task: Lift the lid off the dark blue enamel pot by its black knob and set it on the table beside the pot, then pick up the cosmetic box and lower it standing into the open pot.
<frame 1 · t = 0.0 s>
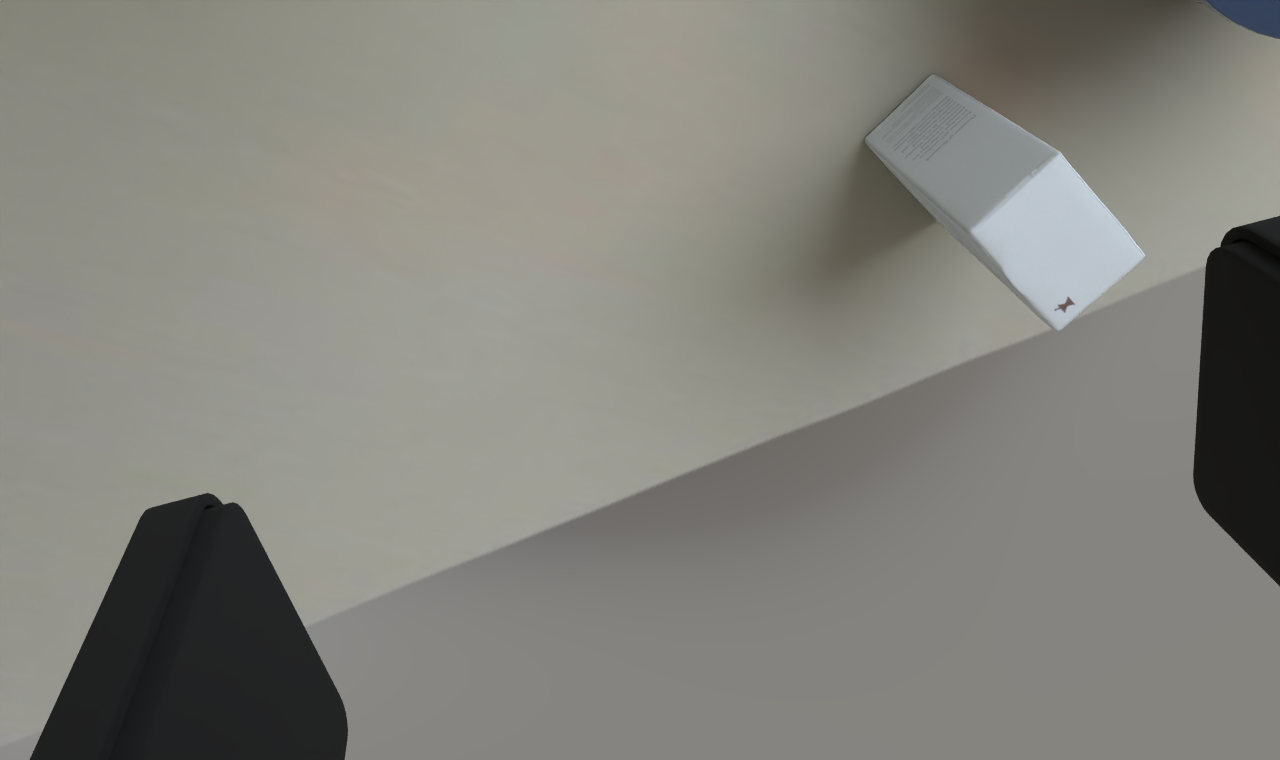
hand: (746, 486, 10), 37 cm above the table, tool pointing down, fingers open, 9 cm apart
cosmetic box: (933, 146, 48), on the table
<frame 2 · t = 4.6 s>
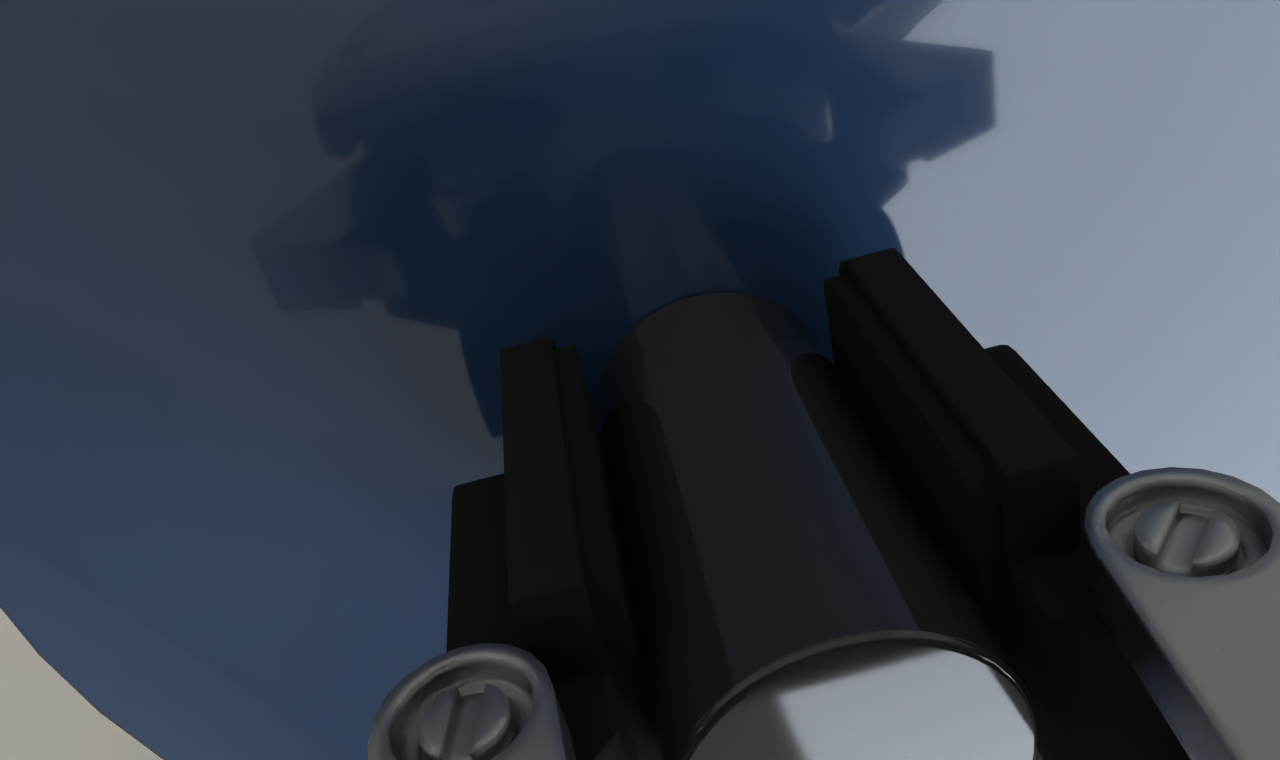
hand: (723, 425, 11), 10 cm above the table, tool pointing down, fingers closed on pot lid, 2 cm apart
pot lid: (705, 375, 12), point 9 cm above the table, touching gripper, pot
when the fingers open (2 cm above the table, at t = 11.6 s): pot lid stays where it is, point 1 cm above the table.
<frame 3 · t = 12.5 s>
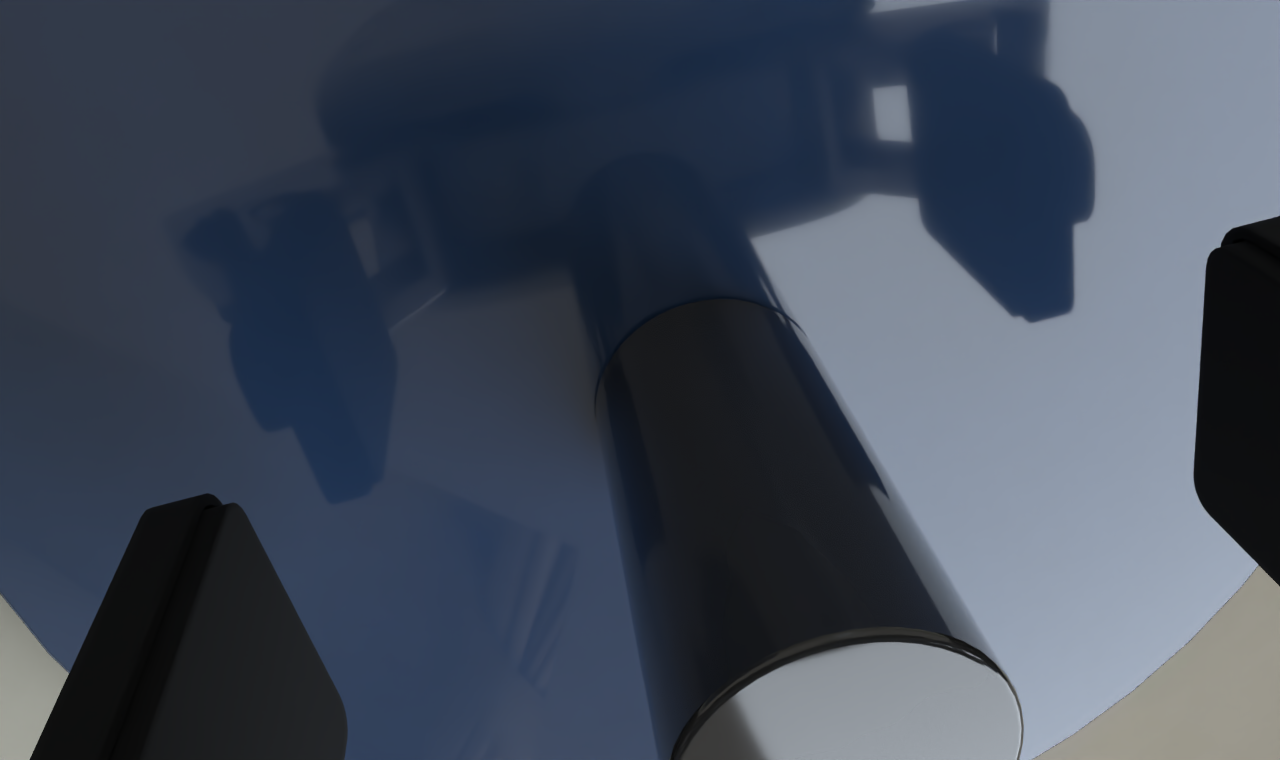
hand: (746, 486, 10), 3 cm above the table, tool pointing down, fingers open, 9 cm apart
pot lid: (701, 380, 12), point 1 cm above the table
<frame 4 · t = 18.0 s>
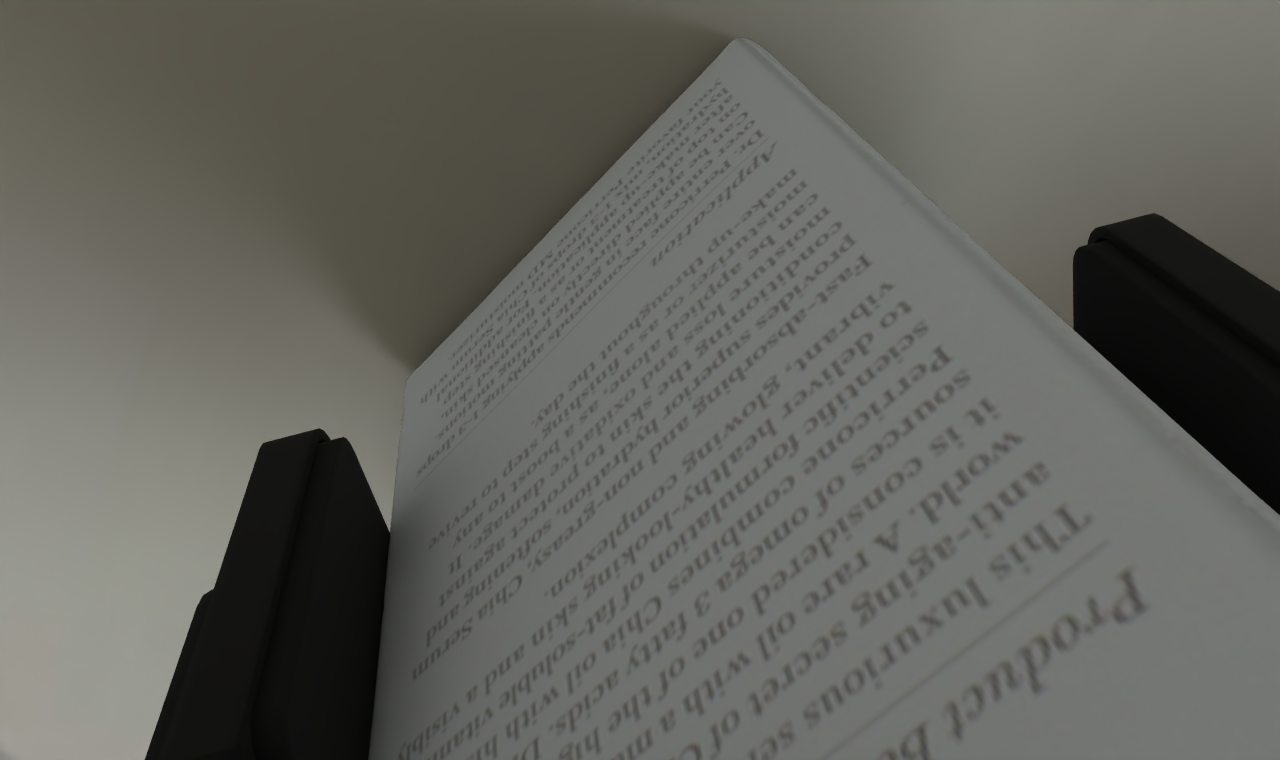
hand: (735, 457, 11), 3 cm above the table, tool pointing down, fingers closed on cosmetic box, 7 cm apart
cosmetic box: (681, 304, 14), on the table, touching gripper
when the fingers open (4 cm above the table, at t = 25.7 s): cosmetic box stays where it is, resting on pot.
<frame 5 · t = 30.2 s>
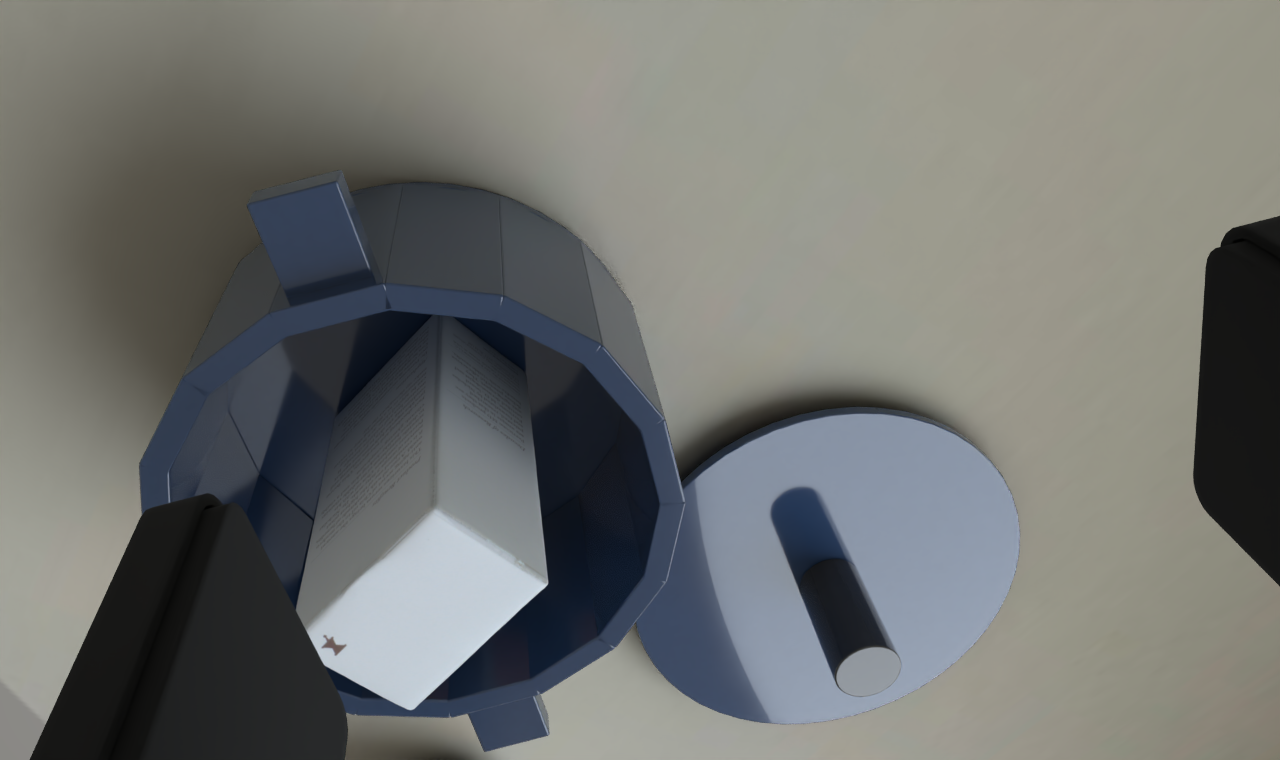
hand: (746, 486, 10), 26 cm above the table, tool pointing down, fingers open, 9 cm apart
pot lid: (825, 574, 45), point 1 cm above the table
cosmetic box: (434, 390, 39), resting on pot
pot: (432, 386, 39), on the table
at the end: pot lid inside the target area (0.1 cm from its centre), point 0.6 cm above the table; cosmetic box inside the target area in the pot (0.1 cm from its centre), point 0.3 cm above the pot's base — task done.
